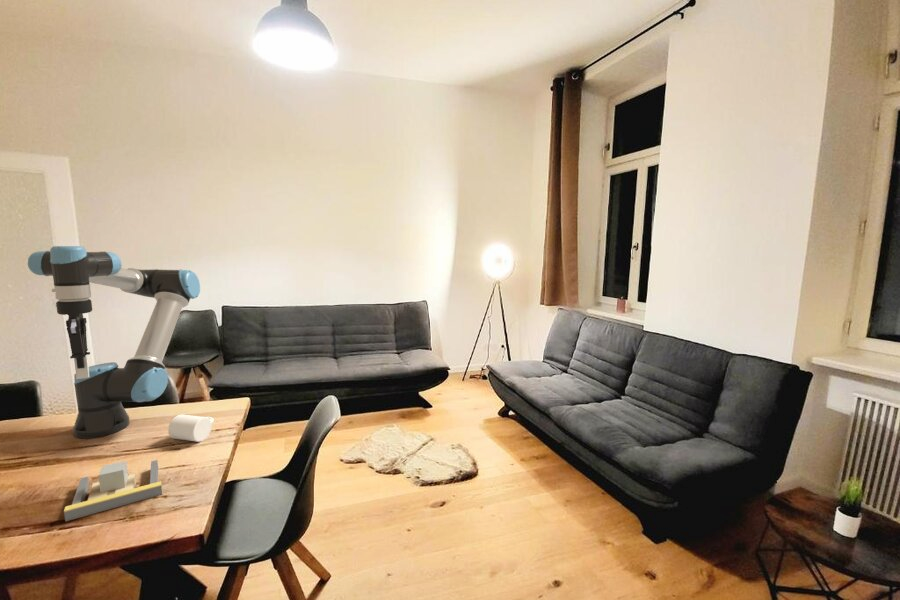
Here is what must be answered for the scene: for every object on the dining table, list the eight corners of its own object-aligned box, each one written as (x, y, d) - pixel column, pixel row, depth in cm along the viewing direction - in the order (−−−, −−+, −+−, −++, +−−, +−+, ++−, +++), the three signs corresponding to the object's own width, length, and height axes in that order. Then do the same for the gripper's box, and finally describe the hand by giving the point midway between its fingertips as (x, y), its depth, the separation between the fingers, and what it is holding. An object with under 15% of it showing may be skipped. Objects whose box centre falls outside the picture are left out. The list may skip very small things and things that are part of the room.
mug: (194, 446, 133) (192, 423, 132) (168, 442, 135) (166, 420, 133) (221, 429, 144) (220, 408, 143) (197, 426, 146) (196, 406, 145)
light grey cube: (104, 483, 108) (102, 465, 107) (128, 477, 110) (126, 460, 110) (100, 493, 104) (98, 475, 103) (125, 487, 106) (123, 469, 106)
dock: (76, 488, 109) (75, 478, 109) (162, 466, 120) (161, 458, 120) (65, 521, 97) (63, 511, 96) (162, 494, 107) (161, 484, 107)
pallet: (94, 493, 108) (92, 483, 108) (136, 482, 113) (135, 472, 113) (88, 511, 101) (87, 501, 100) (133, 499, 106) (132, 489, 106)
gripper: (60, 297, 119) (70, 373, 123) (50, 303, 109) (61, 386, 112) (94, 296, 123) (102, 369, 127) (87, 301, 113) (96, 381, 116)
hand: (83, 377), depth 119 cm, fingers closed
